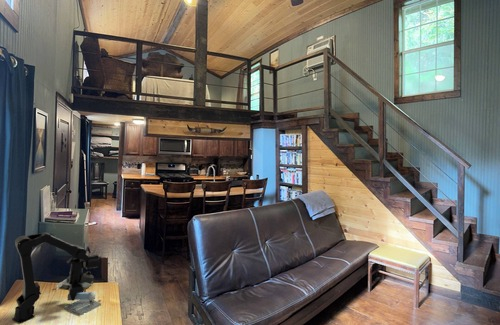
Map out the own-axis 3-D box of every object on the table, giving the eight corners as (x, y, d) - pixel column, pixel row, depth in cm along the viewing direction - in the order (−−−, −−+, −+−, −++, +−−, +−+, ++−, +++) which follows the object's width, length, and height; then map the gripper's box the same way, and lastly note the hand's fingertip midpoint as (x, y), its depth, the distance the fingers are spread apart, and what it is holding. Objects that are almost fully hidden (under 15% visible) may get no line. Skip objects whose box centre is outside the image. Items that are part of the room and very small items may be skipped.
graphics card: (54, 284, 165) (69, 276, 177) (54, 291, 165) (68, 282, 177) (82, 288, 164) (95, 279, 176) (82, 295, 164) (94, 285, 176)
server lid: (80, 315, 142) (80, 311, 142) (64, 308, 147) (64, 304, 147) (101, 305, 153) (101, 301, 153) (85, 299, 158) (85, 295, 158)
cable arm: (67, 300, 150) (68, 294, 150) (69, 298, 153) (70, 291, 153) (94, 300, 154) (94, 293, 154) (95, 297, 156) (96, 291, 157)
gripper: (96, 274, 148) (93, 304, 147) (91, 263, 163) (87, 290, 162) (71, 277, 141) (67, 309, 141) (68, 265, 156) (64, 294, 156)
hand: (73, 300), depth 150 cm, fingers closed
